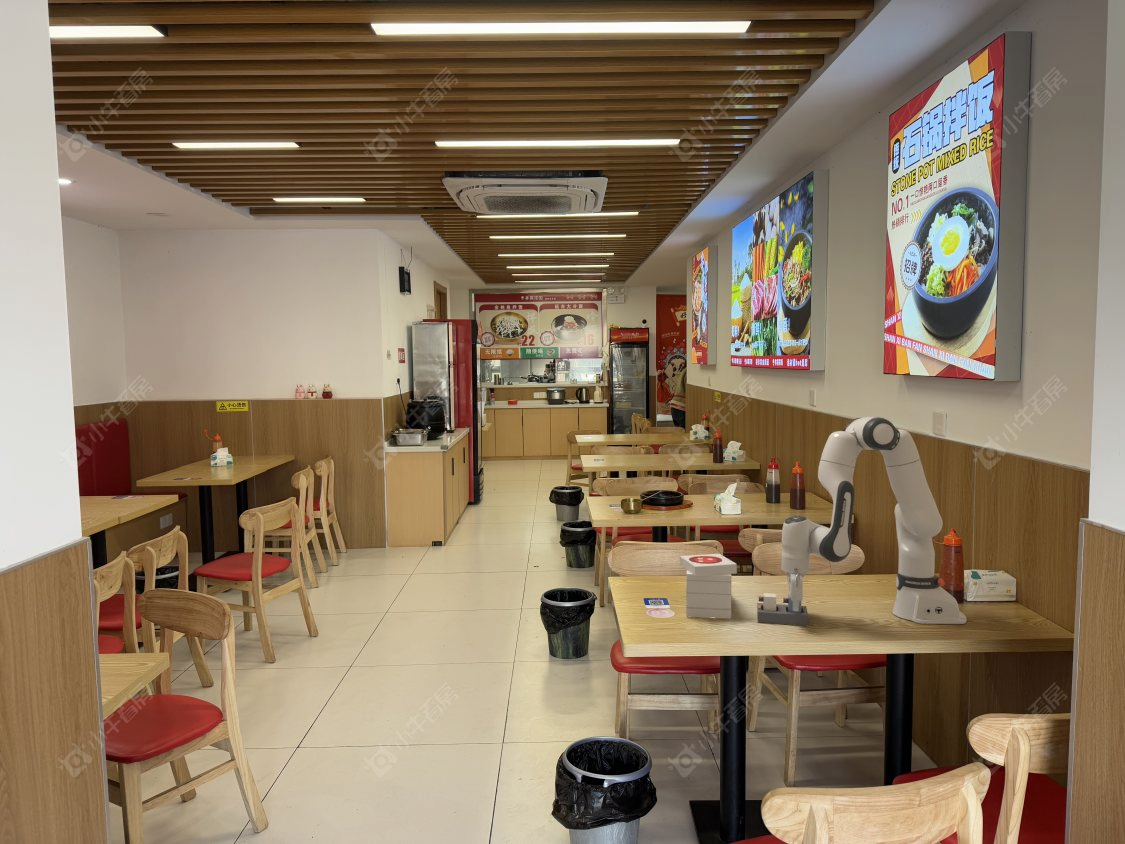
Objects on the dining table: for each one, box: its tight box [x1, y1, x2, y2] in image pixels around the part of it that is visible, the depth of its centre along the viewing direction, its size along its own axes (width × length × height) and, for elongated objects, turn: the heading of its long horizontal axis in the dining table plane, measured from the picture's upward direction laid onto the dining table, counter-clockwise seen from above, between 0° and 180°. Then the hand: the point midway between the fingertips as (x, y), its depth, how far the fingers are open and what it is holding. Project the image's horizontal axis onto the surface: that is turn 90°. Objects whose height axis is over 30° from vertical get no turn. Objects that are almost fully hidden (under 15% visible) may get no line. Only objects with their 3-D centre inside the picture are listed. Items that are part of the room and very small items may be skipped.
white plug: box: [758, 592, 777, 611], centre depth 258 cm, size 6×4×8 cm
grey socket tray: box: [756, 602, 809, 626], centre depth 257 cm, size 16×10×4 cm, turn 76°
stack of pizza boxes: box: [679, 553, 738, 619], centre depth 271 cm, size 19×30×18 cm, turn 171°
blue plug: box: [782, 594, 802, 613], centre depth 256 cm, size 6×4×8 cm
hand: (794, 606), depth 256 cm, fingers open, 8 cm apart
